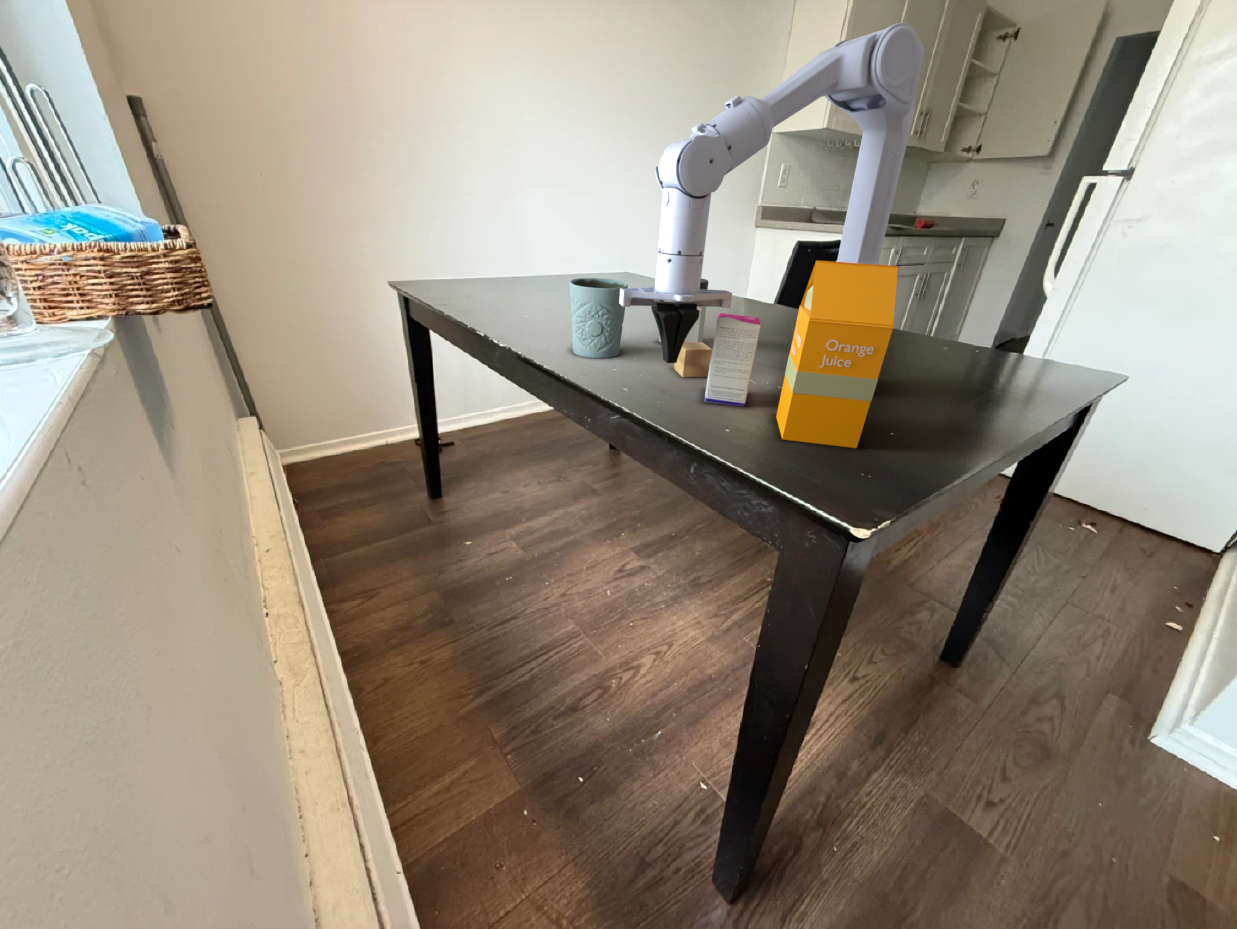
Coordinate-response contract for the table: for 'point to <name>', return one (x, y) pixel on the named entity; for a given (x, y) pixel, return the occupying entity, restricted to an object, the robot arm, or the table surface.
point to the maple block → (693, 360)
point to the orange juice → (837, 352)
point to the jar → (698, 327)
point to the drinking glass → (596, 316)
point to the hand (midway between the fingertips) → (669, 361)
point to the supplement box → (732, 359)
